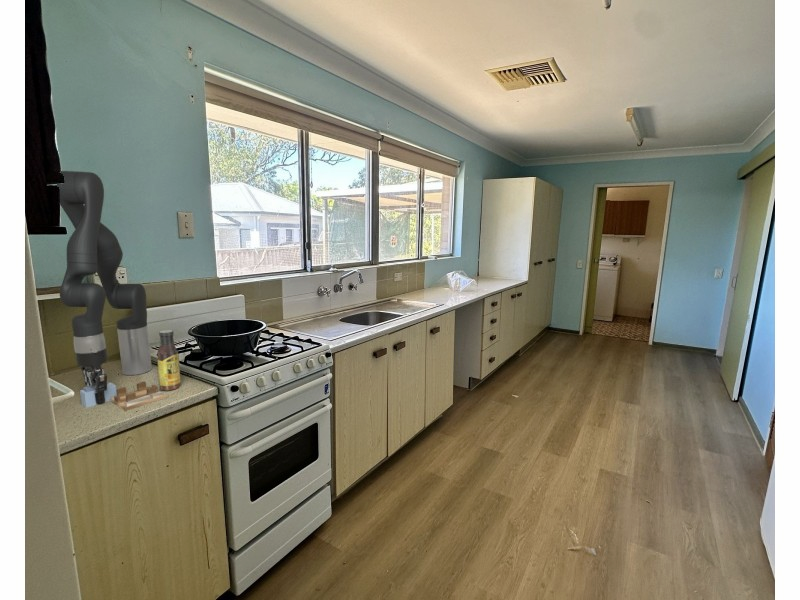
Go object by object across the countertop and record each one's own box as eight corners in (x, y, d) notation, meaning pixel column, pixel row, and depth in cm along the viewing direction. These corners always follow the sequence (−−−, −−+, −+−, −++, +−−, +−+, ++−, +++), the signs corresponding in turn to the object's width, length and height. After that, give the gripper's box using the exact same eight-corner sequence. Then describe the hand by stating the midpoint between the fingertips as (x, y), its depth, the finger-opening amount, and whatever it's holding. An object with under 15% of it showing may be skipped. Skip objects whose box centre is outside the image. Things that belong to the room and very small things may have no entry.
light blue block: (81, 404, 119) (79, 387, 118) (112, 395, 126) (110, 379, 125) (86, 407, 117) (84, 390, 116) (117, 398, 123) (115, 382, 122)
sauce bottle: (171, 392, 128) (165, 334, 125) (155, 390, 130) (149, 333, 126) (185, 384, 135) (180, 329, 131) (170, 383, 136) (164, 328, 132)
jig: (110, 401, 121) (109, 390, 121) (150, 389, 131) (149, 379, 130) (125, 411, 115) (123, 400, 115) (166, 397, 125) (165, 387, 124)
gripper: (67, 346, 119) (74, 399, 122) (83, 356, 111) (91, 412, 114) (96, 341, 125) (103, 391, 128) (114, 349, 117) (121, 403, 120)
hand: (97, 400), depth 121 cm, fingers closed on light blue block, 4 cm apart
